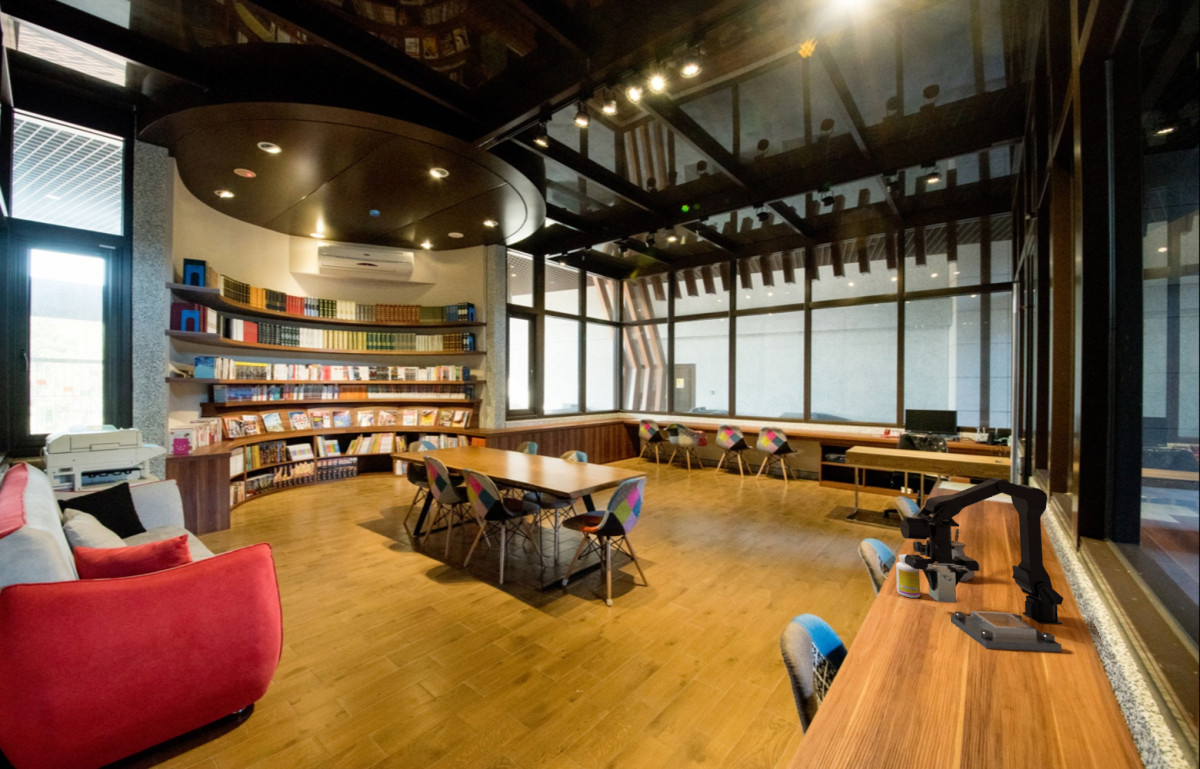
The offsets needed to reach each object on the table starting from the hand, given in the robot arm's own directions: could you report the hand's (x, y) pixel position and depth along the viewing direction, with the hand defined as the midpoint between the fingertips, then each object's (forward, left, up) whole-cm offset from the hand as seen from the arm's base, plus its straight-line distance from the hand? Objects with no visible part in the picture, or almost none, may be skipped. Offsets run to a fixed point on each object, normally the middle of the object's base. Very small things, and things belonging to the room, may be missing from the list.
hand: (942, 590), depth 143 cm
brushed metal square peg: (0, 0, -3) cm, 3 cm away
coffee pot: (-25, -36, -7) cm, 44 cm away
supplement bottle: (+3, -14, -7) cm, 16 cm away
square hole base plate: (-8, +13, -7) cm, 17 cm away
